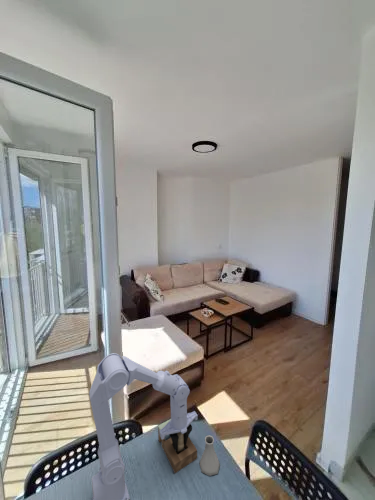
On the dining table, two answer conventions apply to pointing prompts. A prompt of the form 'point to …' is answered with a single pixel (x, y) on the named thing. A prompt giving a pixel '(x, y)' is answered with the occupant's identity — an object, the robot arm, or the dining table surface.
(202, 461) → the flask
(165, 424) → the bench
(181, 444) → the peg
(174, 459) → the socket
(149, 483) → the dining table surface
